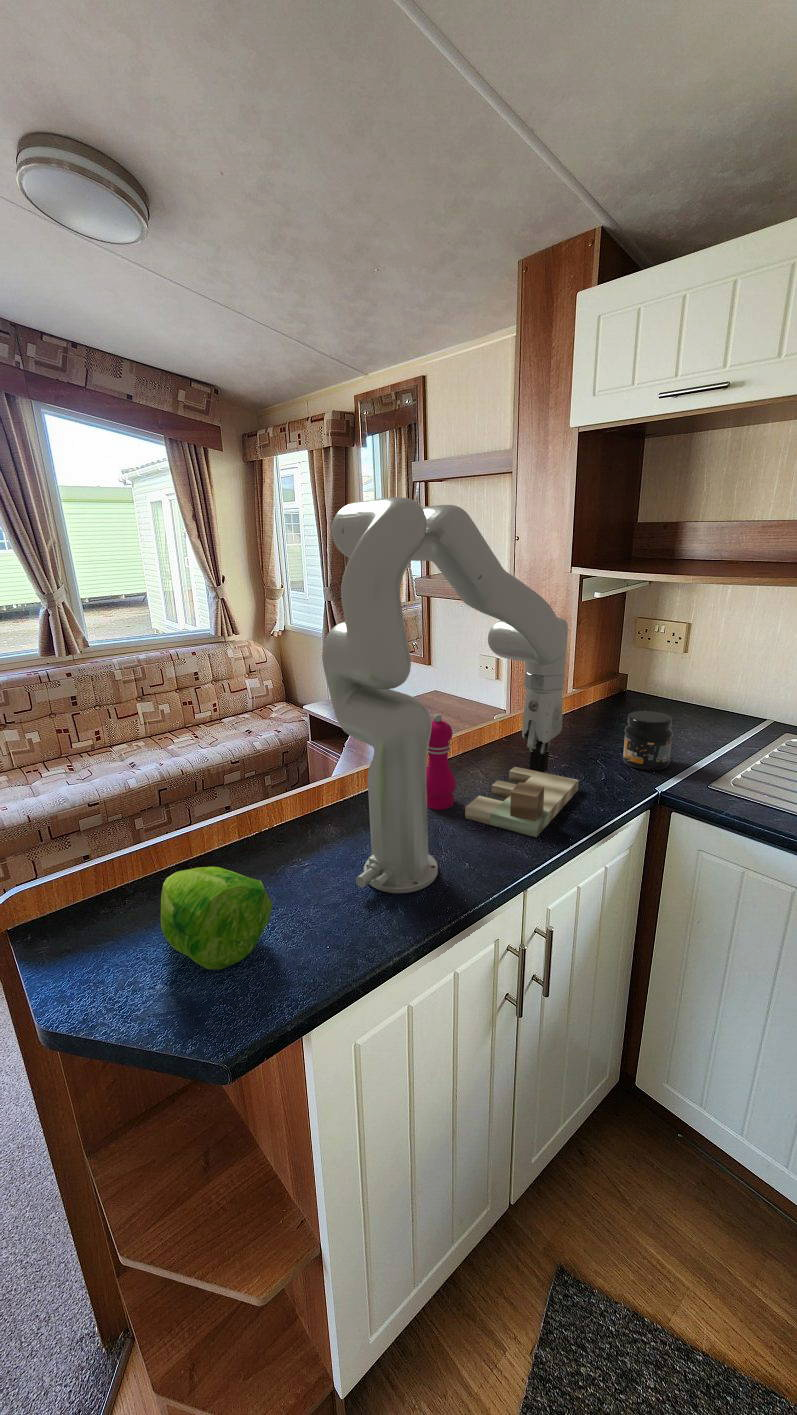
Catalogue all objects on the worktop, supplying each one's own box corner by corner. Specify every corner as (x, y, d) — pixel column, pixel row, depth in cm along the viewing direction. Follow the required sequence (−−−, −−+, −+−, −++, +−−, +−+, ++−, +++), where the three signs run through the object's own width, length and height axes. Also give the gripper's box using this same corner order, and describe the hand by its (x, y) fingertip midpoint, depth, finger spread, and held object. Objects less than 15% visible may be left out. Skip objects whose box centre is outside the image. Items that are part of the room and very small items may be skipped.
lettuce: (219, 893, 93) (209, 828, 90) (293, 949, 80) (285, 875, 76) (133, 936, 84) (119, 865, 80) (201, 1008, 70) (187, 926, 67)
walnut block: (535, 821, 108) (536, 796, 106) (510, 815, 110) (510, 791, 109) (543, 810, 112) (544, 786, 110) (518, 805, 114) (519, 782, 113)
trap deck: (536, 837, 107) (536, 825, 106) (465, 818, 115) (465, 806, 114) (577, 790, 126) (578, 779, 125) (514, 776, 134) (514, 766, 133)
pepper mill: (454, 812, 118) (453, 720, 112) (419, 810, 119) (417, 719, 114) (457, 796, 125) (457, 709, 119) (424, 795, 126) (422, 708, 120)
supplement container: (613, 759, 142) (616, 713, 139) (649, 753, 145) (653, 708, 141) (641, 774, 132) (645, 725, 129) (679, 768, 135) (684, 720, 132)
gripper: (548, 691, 103) (542, 786, 107) (575, 677, 114) (569, 762, 119) (510, 686, 107) (505, 777, 112) (539, 672, 119) (534, 756, 123)
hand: (538, 769), depth 115 cm, fingers closed
